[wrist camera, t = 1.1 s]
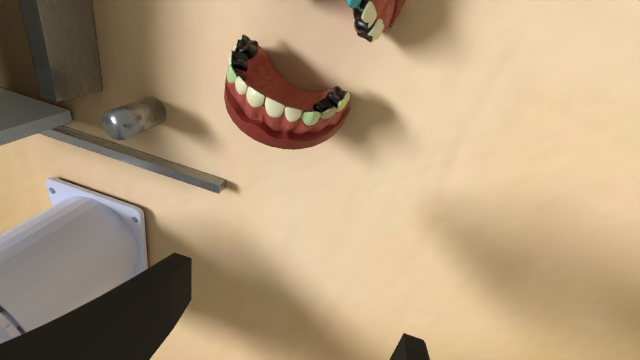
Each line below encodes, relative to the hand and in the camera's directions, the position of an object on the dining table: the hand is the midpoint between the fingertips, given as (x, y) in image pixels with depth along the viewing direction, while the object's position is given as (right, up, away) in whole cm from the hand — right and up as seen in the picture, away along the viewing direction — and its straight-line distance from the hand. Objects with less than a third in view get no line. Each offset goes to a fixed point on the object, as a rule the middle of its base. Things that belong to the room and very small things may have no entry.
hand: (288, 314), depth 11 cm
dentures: (+1, +11, +5) cm, 13 cm away
